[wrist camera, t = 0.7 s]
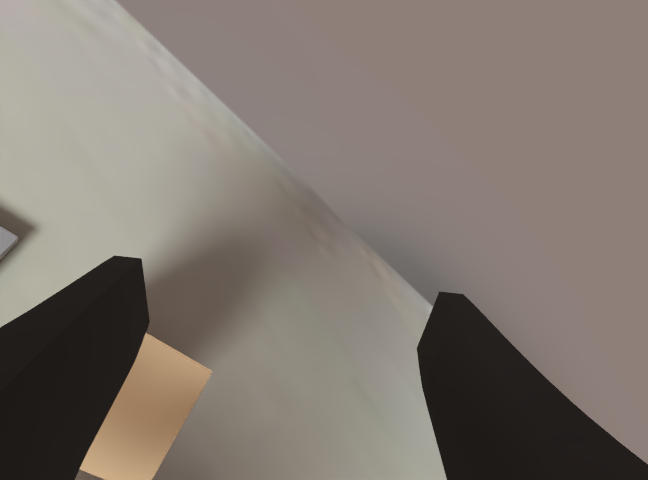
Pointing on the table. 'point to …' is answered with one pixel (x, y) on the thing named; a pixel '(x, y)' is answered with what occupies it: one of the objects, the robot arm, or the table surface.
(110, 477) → the tan block
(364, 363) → the table surface
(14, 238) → the plate
